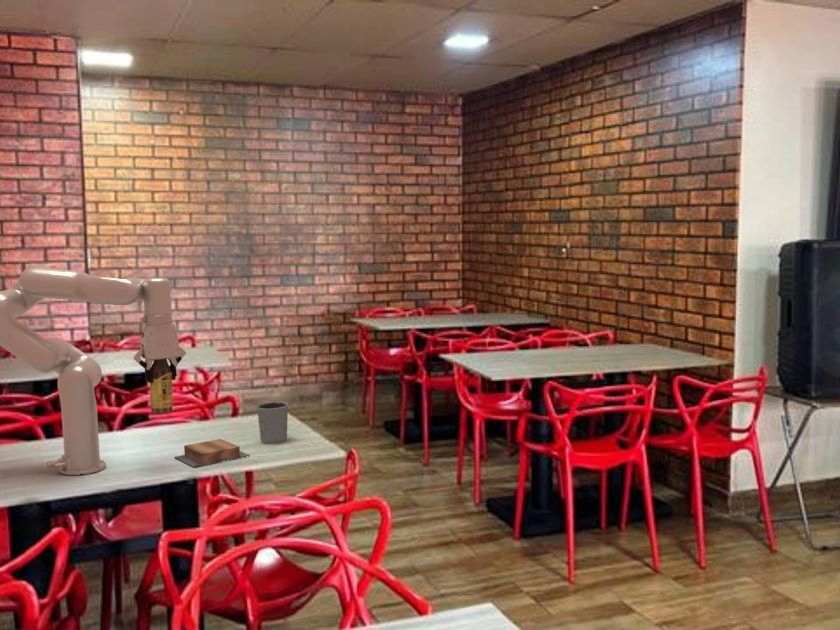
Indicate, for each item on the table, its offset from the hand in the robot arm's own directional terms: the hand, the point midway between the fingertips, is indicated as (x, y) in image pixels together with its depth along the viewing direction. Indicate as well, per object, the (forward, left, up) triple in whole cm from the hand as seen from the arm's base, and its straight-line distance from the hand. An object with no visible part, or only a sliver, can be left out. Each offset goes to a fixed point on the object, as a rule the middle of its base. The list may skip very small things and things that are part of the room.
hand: (161, 380), depth 241 cm
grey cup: (+38, +3, -26) cm, 46 cm away
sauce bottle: (0, 0, -10) cm, 10 cm away
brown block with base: (+14, -2, -25) cm, 29 cm away
